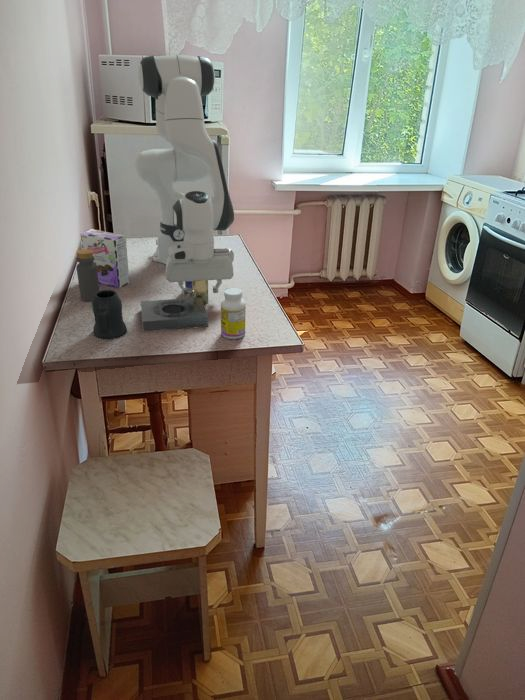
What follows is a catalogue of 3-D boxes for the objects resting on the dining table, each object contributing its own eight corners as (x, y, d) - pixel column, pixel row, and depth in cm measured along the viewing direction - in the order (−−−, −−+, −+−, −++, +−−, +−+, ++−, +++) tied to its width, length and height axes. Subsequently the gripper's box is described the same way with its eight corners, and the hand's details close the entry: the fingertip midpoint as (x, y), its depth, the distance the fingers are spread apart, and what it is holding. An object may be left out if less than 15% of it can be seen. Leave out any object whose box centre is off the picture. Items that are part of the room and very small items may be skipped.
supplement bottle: (221, 329, 149) (220, 286, 142) (244, 329, 149) (245, 286, 143) (221, 340, 143) (220, 296, 137) (245, 340, 143) (246, 296, 137)
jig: (141, 310, 158) (140, 301, 156) (201, 306, 162) (201, 297, 160) (143, 331, 146) (142, 321, 144) (208, 326, 150) (208, 317, 148)
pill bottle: (198, 294, 170) (198, 268, 166) (183, 292, 171) (182, 266, 166) (203, 288, 174) (203, 262, 170) (188, 286, 175) (187, 261, 171)
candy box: (85, 281, 177) (79, 232, 169) (97, 275, 182) (91, 228, 174) (119, 288, 172) (114, 239, 164) (130, 282, 177) (126, 234, 169)
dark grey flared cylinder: (97, 324, 149) (92, 287, 144) (129, 324, 150) (126, 287, 144) (86, 344, 138) (81, 305, 133) (122, 344, 139) (118, 305, 134)
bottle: (104, 297, 166) (98, 250, 158) (89, 303, 161) (82, 255, 154) (92, 292, 168) (85, 247, 161) (76, 298, 164) (69, 251, 157)
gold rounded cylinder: (191, 300, 166) (191, 276, 162) (207, 299, 167) (206, 275, 163) (193, 306, 162) (192, 281, 158) (209, 305, 163) (208, 280, 159)
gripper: (232, 244, 161) (231, 287, 168) (163, 247, 157) (166, 291, 163) (235, 251, 156) (235, 295, 162) (165, 254, 151) (167, 299, 158)
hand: (200, 293), depth 163 cm, fingers open, 8 cm apart
